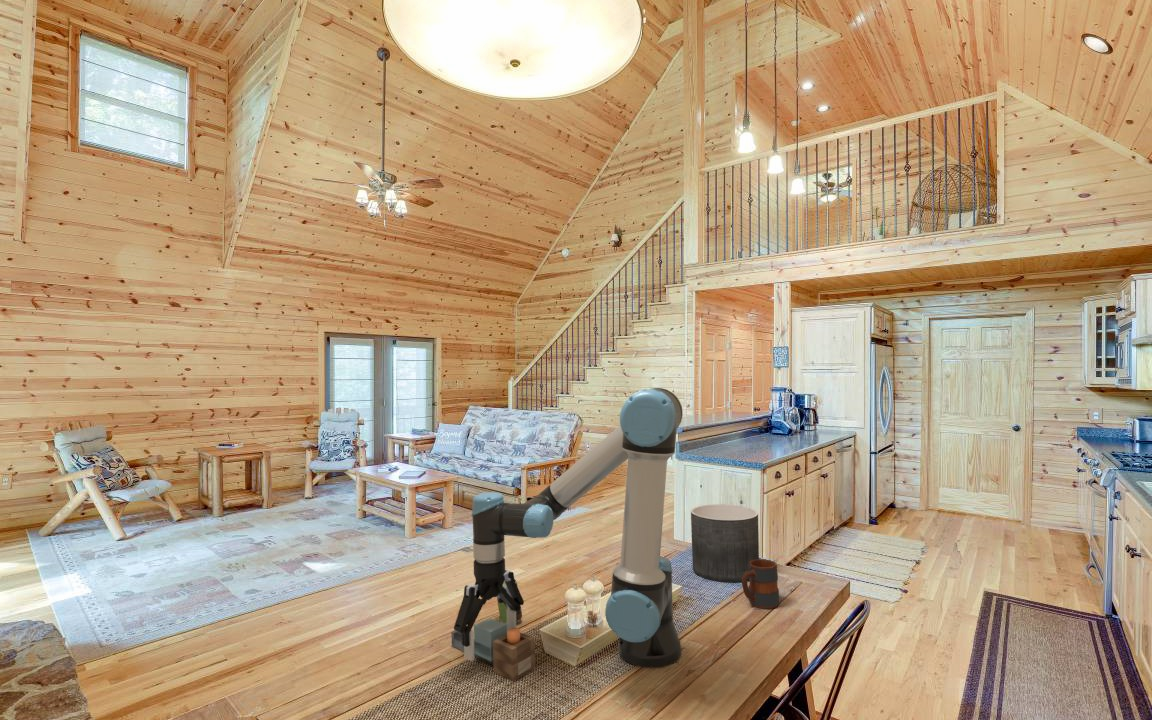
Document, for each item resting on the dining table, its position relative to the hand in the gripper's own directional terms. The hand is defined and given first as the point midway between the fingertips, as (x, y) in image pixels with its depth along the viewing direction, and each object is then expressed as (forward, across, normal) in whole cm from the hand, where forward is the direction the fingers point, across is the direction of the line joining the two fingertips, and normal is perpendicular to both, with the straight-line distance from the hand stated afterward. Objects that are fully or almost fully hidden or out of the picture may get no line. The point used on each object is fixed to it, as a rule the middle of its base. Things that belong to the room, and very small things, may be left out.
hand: (491, 647), depth 138 cm
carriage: (+1, 0, 0) cm, 1 cm away
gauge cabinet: (+3, 0, +8) cm, 8 cm away
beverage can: (+3, -17, -12) cm, 21 cm away
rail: (+3, 0, -4) cm, 5 cm away
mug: (+3, -69, +38) cm, 79 cm away
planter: (+3, -89, +18) cm, 91 cm away
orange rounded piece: (-3, 0, +8) cm, 8 cm away
